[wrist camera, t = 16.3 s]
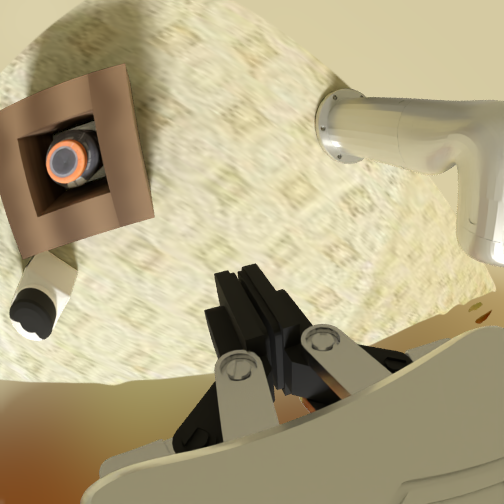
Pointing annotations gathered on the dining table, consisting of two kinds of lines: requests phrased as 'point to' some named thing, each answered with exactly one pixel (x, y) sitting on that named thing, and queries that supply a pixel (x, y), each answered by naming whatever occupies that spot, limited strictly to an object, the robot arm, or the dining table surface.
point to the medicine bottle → (41, 295)
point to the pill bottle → (74, 157)
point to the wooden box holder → (85, 196)
